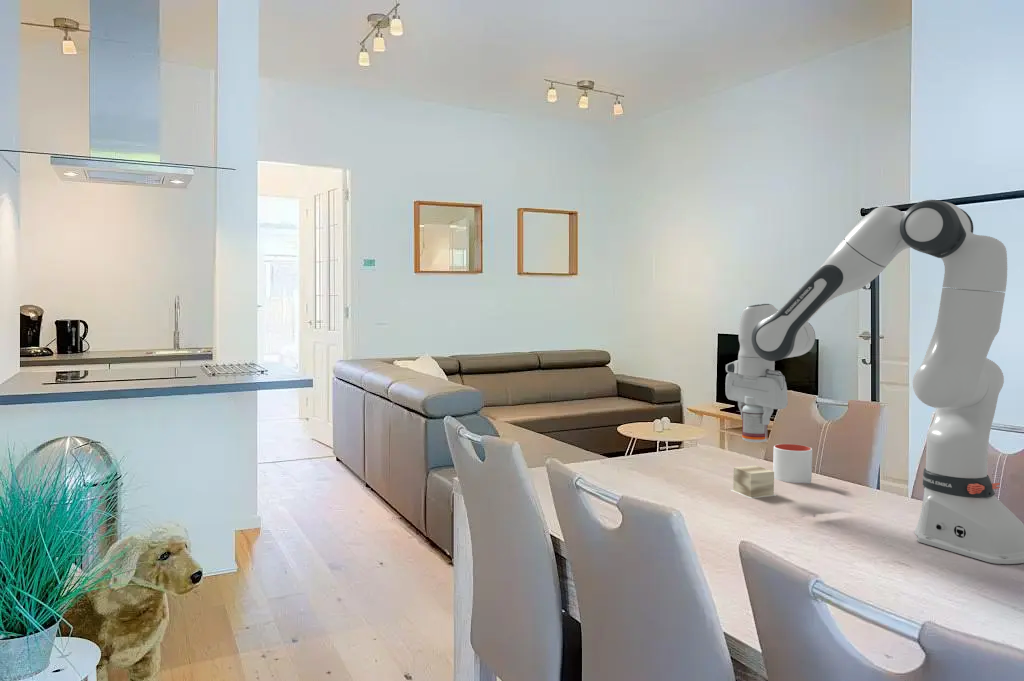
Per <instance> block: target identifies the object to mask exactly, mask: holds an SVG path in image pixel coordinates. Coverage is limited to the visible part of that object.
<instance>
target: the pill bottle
mask: <svg viewBox="0 0 1024 681" xmlns="http://www.w3.org/2000/svg"><path fill="white" fill-rule="evenodd" d="M744 402H745V403H746V406H744V407H743V409H742V419H741V420H742V421H741V422H742V427H741V428H742V429H741V432H742V433H741V438H742V440H743V441H744V442H749V443H765V442H767V441H768V431H769V430H768V429H769V428H768V427H769V426H768V425H763V424H761V423H760V417H762V416H763V414H764V411H763V406H758V405H755V403H754V398H753V397H747V396H745V401H744Z"/></svg>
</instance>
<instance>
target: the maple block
mask: <svg viewBox="0 0 1024 681" xmlns="http://www.w3.org/2000/svg"><path fill="white" fill-rule="evenodd" d="M732 482H733V484H732V487H733V488H732V490H734V491H736V492H739V493H741V494H744V495H746V496H749V497H759V496H768V495H774V494H775V479H774V471H773V470H771V469H767V468H765V467H762V466H759V465H746V466H734V467H733V481H732Z"/></svg>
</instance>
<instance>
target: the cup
mask: <svg viewBox="0 0 1024 681" xmlns="http://www.w3.org/2000/svg"><path fill="white" fill-rule="evenodd" d="M772 451H773V455H772V456H773V457H772V458H773V459H772V460H773V461H772V463H773V464H772V471H774V480H776V481H779V482H785V483H791V484H792V483H794V484H807V485H810V484H811V483H812V478H813V475H812V473H813V448H812V447H810V446H806V445H802V444H795V443H794V444H793V443H778V444H775V445H774V446H773V450H772Z"/></svg>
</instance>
